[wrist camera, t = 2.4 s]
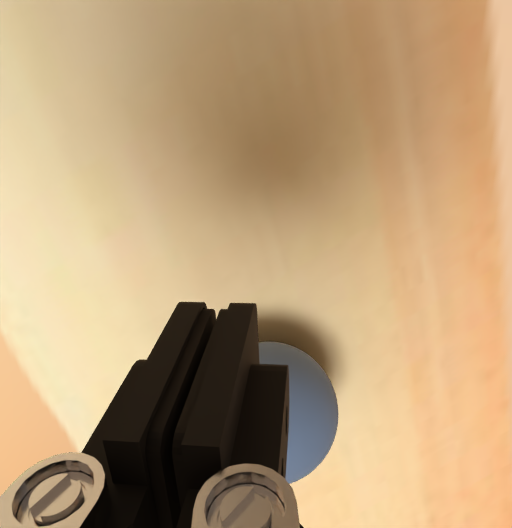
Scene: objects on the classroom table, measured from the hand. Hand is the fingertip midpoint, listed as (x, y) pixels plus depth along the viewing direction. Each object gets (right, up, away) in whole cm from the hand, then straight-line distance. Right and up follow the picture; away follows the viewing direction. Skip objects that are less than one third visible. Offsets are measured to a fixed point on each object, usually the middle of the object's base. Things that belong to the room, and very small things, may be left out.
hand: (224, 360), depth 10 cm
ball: (+1, -4, +10) cm, 11 cm away
